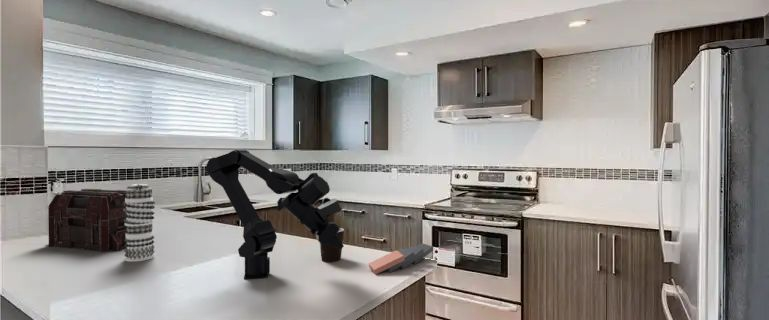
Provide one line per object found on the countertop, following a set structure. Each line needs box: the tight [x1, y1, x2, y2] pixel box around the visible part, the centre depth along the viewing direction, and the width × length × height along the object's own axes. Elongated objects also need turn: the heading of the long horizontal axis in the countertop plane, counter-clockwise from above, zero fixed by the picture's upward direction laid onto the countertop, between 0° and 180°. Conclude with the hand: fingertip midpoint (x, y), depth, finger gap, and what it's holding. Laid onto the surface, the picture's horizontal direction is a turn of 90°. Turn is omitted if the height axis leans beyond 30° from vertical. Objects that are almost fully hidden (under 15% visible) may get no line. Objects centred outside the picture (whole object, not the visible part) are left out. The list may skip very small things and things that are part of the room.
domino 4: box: [411, 242, 434, 264], centre depth 128 cm, size 2×5×10 cm
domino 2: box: [385, 248, 415, 273], centre depth 120 cm, size 2×5×10 cm
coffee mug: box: [319, 227, 345, 263], centre depth 130 cm, size 12×9×10 cm
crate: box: [47, 188, 127, 253], centre depth 150 cm, size 35×19×21 cm, turn 74°
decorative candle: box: [123, 183, 156, 262], centre depth 130 cm, size 9×9×25 cm
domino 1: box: [368, 249, 405, 275], centre depth 117 cm, size 2×5×10 cm
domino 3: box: [397, 245, 424, 270], centre depth 123 cm, size 2×5×10 cm
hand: (342, 247), depth 111 cm, fingers closed
